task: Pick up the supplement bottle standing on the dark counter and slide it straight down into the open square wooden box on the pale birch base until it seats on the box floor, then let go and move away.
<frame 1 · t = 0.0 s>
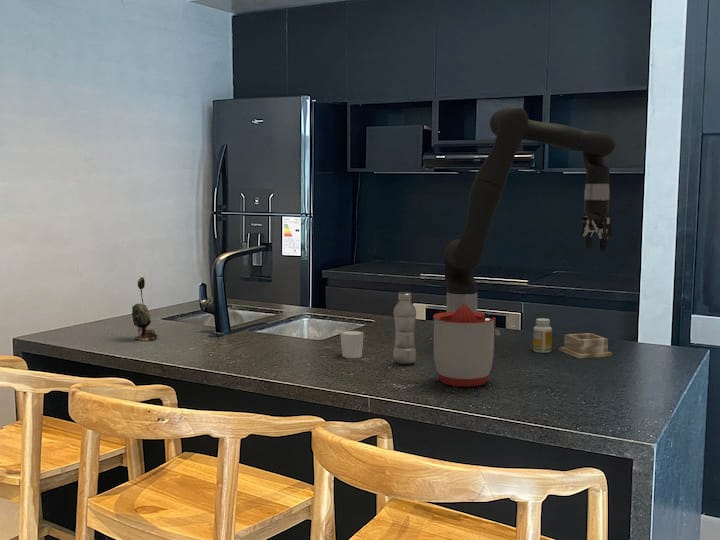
hand: (595, 249, 243), 29 cm above the counter, fingers open, 8 cm apart
shot glass: (352, 356, 224), on the counter
citrus juicer: (466, 382, 194), on the counter
plastic bottle: (404, 364, 214), on the counter
supplement bottle: (542, 351, 230), on the counter
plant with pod: (145, 339, 249), on the counter
open square wooden box: (585, 353, 227), on the counter
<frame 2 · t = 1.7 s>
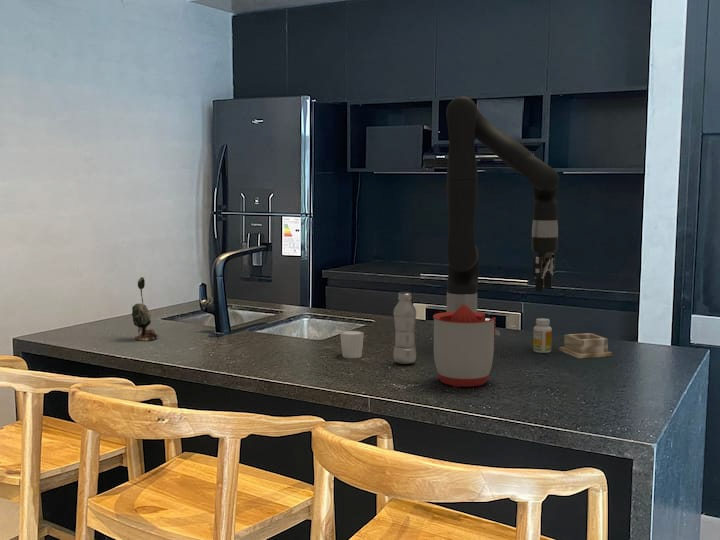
hand: (543, 289, 228), 19 cm above the counter, fingers open, 8 cm apart
nothing on the counter moved.
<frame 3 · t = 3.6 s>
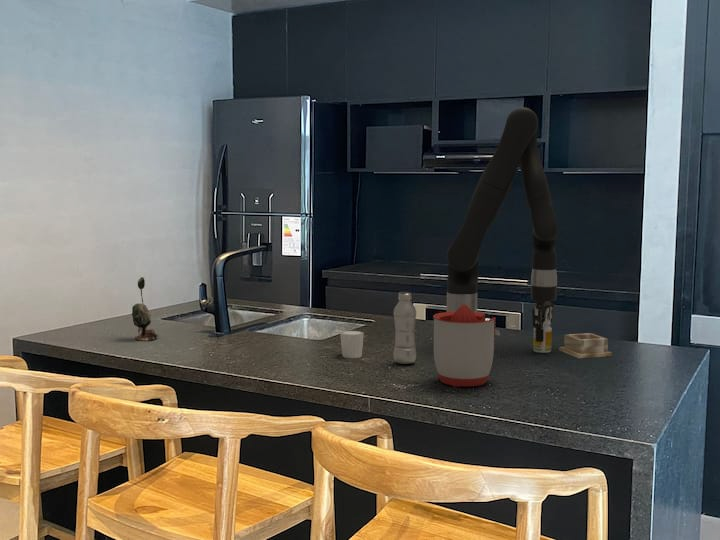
hand: (542, 339, 230), 4 cm above the counter, fingers closed on supplement bottle, 5 cm apart
supplement bottle: (542, 351, 230), on the counter, touching gripper
everything else where it was.
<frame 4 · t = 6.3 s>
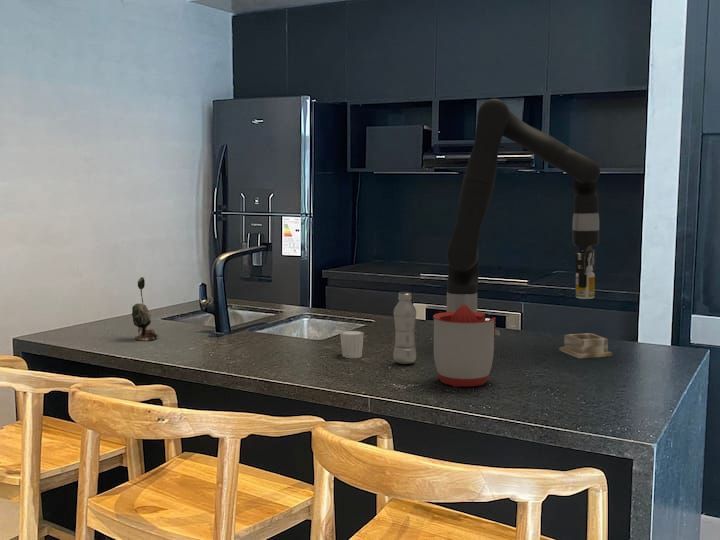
hand: (585, 286, 225), 20 cm above the counter, fingers closed on supplement bottle, 5 cm apart
supplement bottle: (585, 298, 226), point 16 cm above the counter, touching gripper
everything else where it was.
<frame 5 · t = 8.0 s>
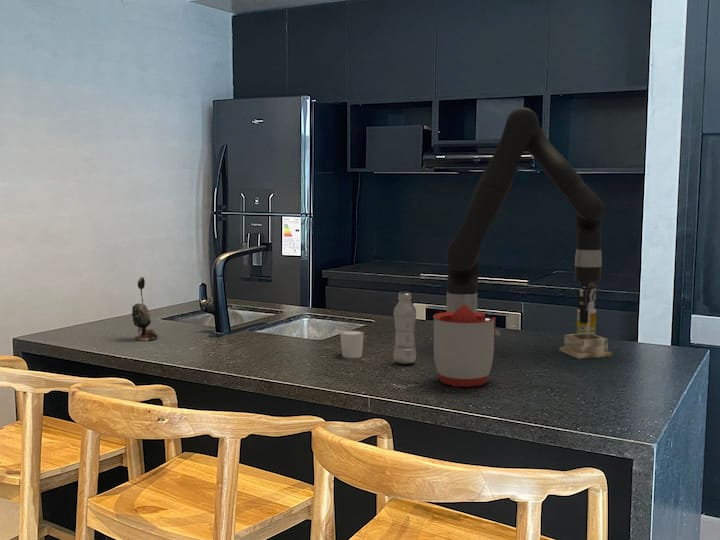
hand: (586, 321, 226), 10 cm above the counter, fingers closed on supplement bottle, 5 cm apart
supplement bottle: (585, 333, 227), point 6 cm above the counter, touching gripper
everything else where it was.
when the fingers open (6 cm above the counter, at t = 9.2 s): supplement bottle drops 2 cm, resting on open square wooden box.
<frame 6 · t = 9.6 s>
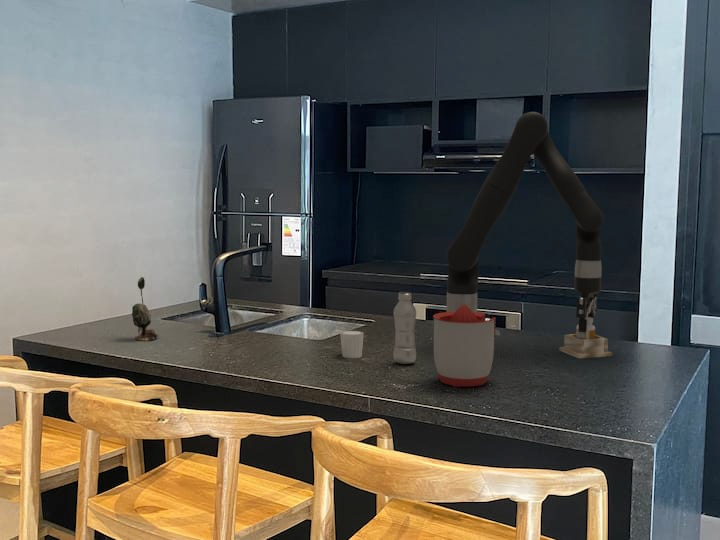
hand: (586, 329, 227), 7 cm above the counter, fingers open, 8 cm apart
supplement bottle: (584, 350, 227), point 1 cm above the counter, touching open square wooden box
everything else where it was.
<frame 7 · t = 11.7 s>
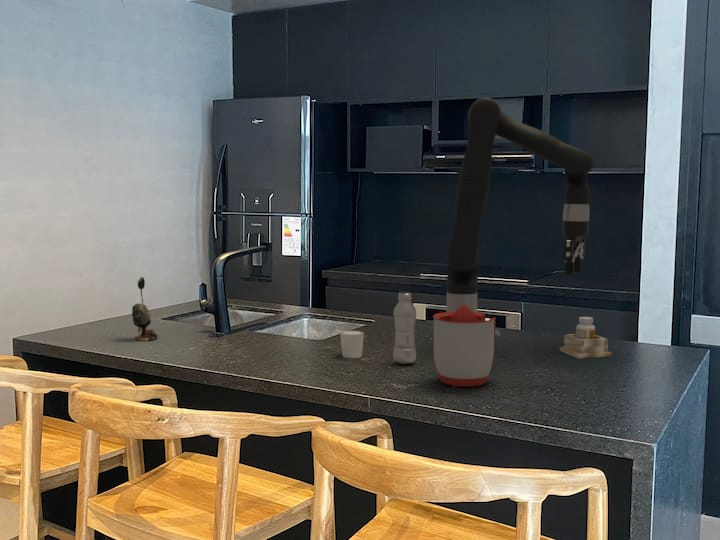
hand: (573, 273, 229), 23 cm above the counter, fingers open, 8 cm apart
nothing on the counter moved.
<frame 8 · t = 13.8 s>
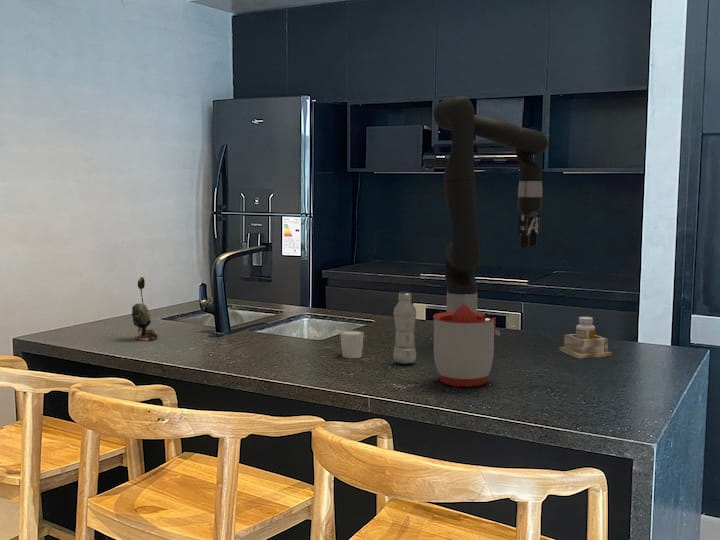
hand: (528, 246, 245), 30 cm above the counter, fingers open, 8 cm apart
nothing on the counter moved.
at the end: supplement bottle 0.2 cm off-centre on the open square wooden box, point 0.8 cm above the open square wooden box's base; supplement bottle tilted 0°; the gripper is holding nothing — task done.
